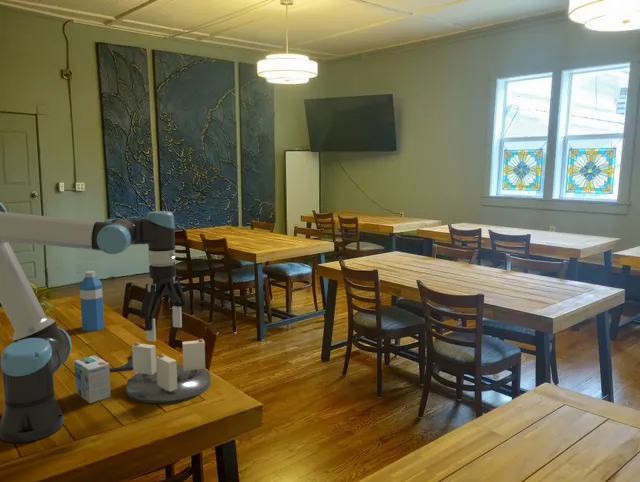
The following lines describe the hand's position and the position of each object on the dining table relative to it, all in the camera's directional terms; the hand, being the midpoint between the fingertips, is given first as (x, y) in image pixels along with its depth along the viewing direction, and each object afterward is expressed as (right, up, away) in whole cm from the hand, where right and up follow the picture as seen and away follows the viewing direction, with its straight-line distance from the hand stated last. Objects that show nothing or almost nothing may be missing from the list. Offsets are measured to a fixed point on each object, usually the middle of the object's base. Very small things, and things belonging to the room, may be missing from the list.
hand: (164, 333), depth 156 cm
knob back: (-11, -16, +14) cm, 24 cm away
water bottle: (-52, -10, +71) cm, 88 cm away
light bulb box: (-24, -20, +5) cm, 31 cm away
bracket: (-21, -17, +32) cm, 41 cm away
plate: (-2, -19, +12) cm, 22 cm away
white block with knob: (0, -18, +3) cm, 18 cm away
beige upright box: (+5, -16, +17) cm, 24 cm away
